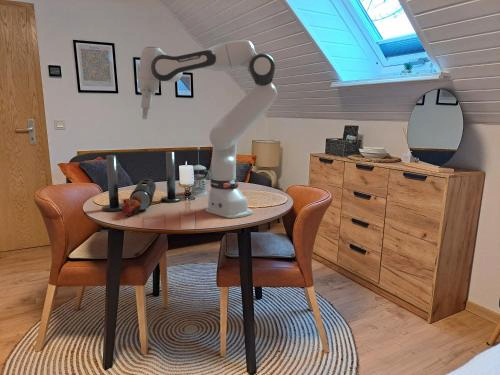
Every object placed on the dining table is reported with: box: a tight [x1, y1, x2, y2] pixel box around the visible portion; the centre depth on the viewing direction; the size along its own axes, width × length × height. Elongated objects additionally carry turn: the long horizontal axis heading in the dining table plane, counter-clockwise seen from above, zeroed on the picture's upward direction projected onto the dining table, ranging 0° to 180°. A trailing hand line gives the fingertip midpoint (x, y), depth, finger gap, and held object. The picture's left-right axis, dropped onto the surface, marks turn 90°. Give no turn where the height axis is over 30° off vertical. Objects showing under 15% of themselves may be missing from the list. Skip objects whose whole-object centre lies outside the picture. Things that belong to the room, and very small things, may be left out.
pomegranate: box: [122, 198, 141, 217], centre depth 152 cm, size 7×7×10 cm
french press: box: [190, 146, 212, 196], centre depth 193 cm, size 10×12×25 cm
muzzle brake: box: [129, 177, 157, 211], centre depth 169 cm, size 10×28×10 cm, turn 10°
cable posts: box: [102, 151, 183, 213], centre depth 167 cm, size 10×38×24 cm, turn 128°
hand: (144, 118), depth 158 cm, fingers open, 8 cm apart
